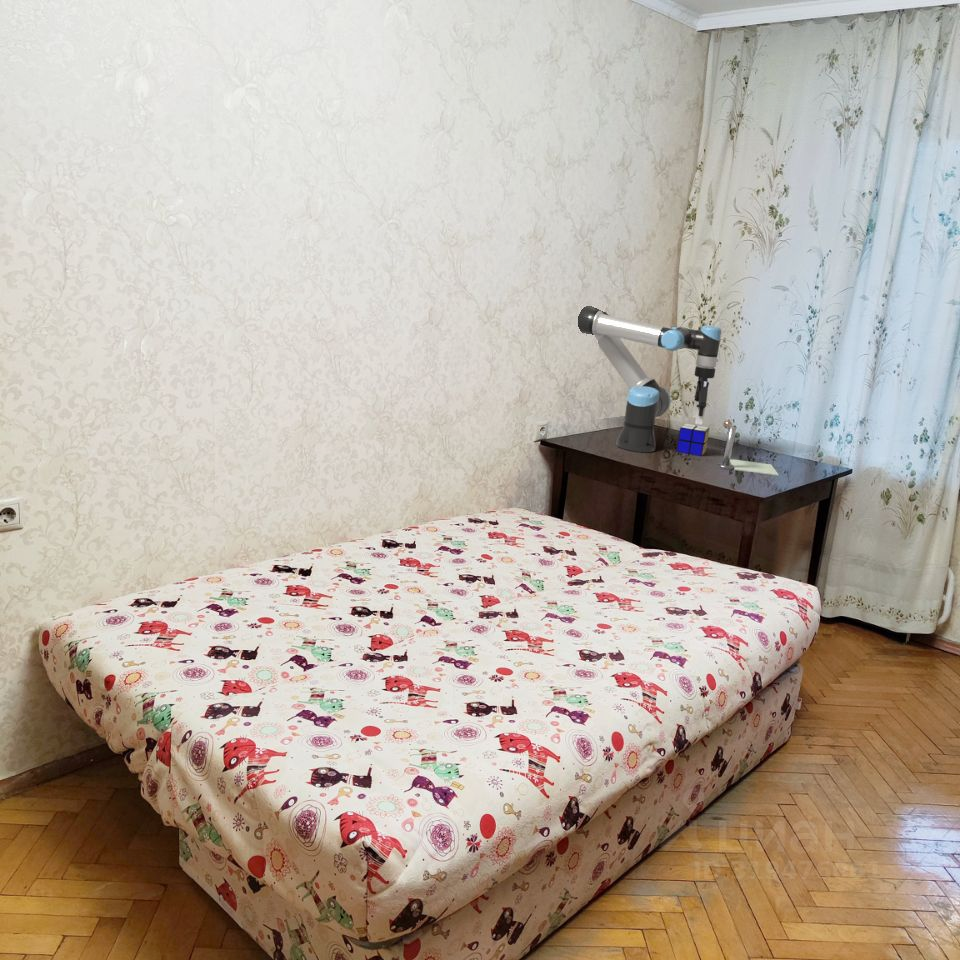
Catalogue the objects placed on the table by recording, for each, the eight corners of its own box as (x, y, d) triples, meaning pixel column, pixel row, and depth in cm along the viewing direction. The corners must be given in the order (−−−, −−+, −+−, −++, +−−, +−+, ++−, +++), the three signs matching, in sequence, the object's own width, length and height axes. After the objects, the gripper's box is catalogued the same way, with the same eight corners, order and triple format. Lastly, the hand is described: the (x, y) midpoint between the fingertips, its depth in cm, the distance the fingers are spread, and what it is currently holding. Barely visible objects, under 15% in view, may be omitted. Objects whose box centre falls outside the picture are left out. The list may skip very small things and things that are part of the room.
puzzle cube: (676, 452, 349) (680, 427, 347) (680, 447, 358) (684, 423, 356) (701, 456, 346) (706, 431, 343) (705, 452, 355) (709, 427, 352)
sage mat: (734, 469, 330) (734, 468, 330) (728, 459, 345) (729, 458, 345) (778, 475, 328) (778, 474, 328) (771, 465, 343) (771, 464, 343)
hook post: (718, 468, 329) (725, 427, 325) (713, 457, 346) (720, 418, 342) (734, 470, 329) (742, 429, 324) (728, 459, 345) (735, 420, 341)
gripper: (719, 372, 331) (710, 428, 336) (712, 364, 355) (703, 416, 360) (698, 369, 332) (690, 425, 337) (693, 361, 356) (684, 414, 361)
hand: (697, 420), depth 349 cm, fingers open, 13 cm apart
